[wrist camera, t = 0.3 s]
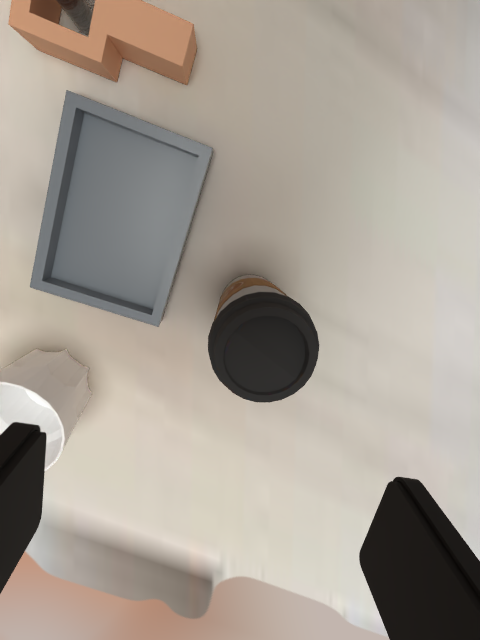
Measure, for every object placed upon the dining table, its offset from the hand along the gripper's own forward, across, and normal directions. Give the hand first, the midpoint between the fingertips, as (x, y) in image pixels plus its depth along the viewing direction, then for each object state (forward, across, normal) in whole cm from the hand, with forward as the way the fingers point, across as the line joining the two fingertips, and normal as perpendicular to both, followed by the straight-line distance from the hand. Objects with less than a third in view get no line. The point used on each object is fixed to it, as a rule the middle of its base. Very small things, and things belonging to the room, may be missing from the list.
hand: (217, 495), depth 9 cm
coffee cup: (+30, -4, +2) cm, 30 cm away
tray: (+30, +11, -4) cm, 32 cm away
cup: (+30, +16, +15) cm, 37 cm away
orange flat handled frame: (+30, +13, -20) cm, 38 cm away
